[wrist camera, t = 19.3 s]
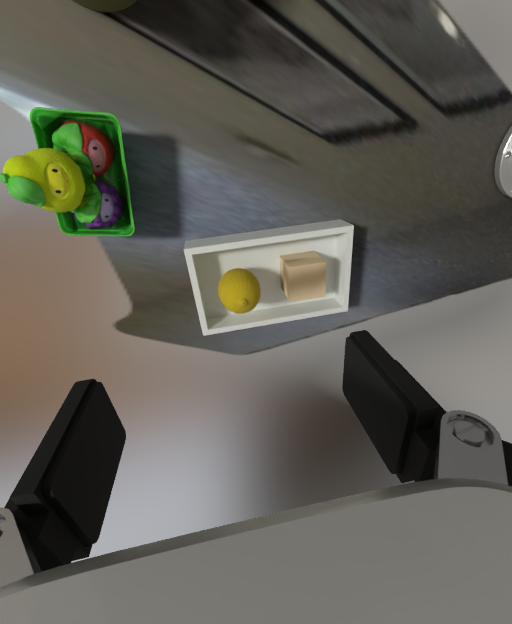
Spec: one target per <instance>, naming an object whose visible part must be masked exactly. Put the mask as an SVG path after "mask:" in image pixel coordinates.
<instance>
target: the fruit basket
mask: <svg viewBox="0 0 512 624" xmlns="http://www.w3.org/2000/svg"><path fill="white" fill-rule="evenodd" d="M30 120H31V124H32V128H33V131H34V134H35V138H36V142H37V146H38V149H36V150H32V151H29V152H28V153H26V154H24V155H23V156H15V157H12V158H10V159H9V160H8V161H7V162H6V163H5V165H4V168H3V173H1V174H0V180H1V181H2V182H3V183H6V185H7V190H8V192H9V193H10V195H11V196H13V198H15V199H17V200H19V201H21V202H24V203H30V204H33V205H36V206H38V207H41V208H43V209H46V210H49V211H53V212H55V213H56V217H57V221H58V225H59V228H60V230H61V231H62V232H63V233H65V234H67V235H73V236H75V235H76V236H77V235H82V236H131V235H132V234H133V233H134V231H135V226H134V219H133V213H132V206H131V199H130V188H129V181H128V173H127V166H126V162H125V155H124V147H123V140H122V132H121V126H120V122H119V120H118V119H117V118H116V117H115V116H114V115H113V114H110V113H101V112H86V111H73V110H62V109H52V108H42V107H36V108H34V109H32V110H31V112H30Z"/></svg>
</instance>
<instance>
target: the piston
mask: <svg viewBox="0 0 512 624" xmlns="http://www.w3.org/2000/svg"><path fill="white" fill-rule="evenodd" d="M73 1H74V2H76V3H78V4H79V5H81V6H83V7H86V8H88V9H91V10H94V11H99V12H117V11H121V10H124V9H126V8H128V7H130V6H132V5H133V4H134V3H136V2H137V1H138V0H73Z"/></svg>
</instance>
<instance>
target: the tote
mask: <svg viewBox="0 0 512 624" xmlns="http://www.w3.org/2000/svg"><path fill="white" fill-rule="evenodd" d="M353 231H354V225H352V224H350V223H348V222H346V221H343V220H341V219H340V220H332V221H325V222H318V223H311V224H303V225H296V226H289V227H282V228H275V229H267V230H260V231H253V232H246V233H239V234H231V235H224V236H217V237H210V238H202V239H195V240H188V241H185V246H184V253H185V257H186V261H187V266H188V270H189V275H190V279H191V284H192V288H193V292H194V297H195V301H196V306H197V310H198V314H199V319H200V323H201V328H202V332H203V336H204V335H210V334H216V333H222V332H228V331H233V330H239V329H245V328H251V327H257V326H263V325H269V324H274V323H280V322H286V321H292V320H298V319H304V318H309V317H315V316H321V315H327V314H333V313H339V312H345V311H348V302H349V288H350V273H351V259H352V245H353ZM308 251H314V252H315V253H317V254H318V255H319V256H320V257H321V258H323V259H324V260H325V261H326V262H327V264H326V292H325V297H321V298H315V299H308V300H302V301H296V302H289V300H288V299H287V297H286V295H285V294H284V292H283V290H282V289H281V279H280V259H279V255H286V254H294V253H301V252H308ZM236 268H242V269H245V270H248V271H249V272H251V273H252V274H253V275H254V276H255V277H256V278H257V280H258V282H259V284H260V290H261V293H260V299H259V302H258V304H257V305H256V307H255V308H254V309H253V310H251V311H249V312H247V313H243V314H238V313H234V312H231V311H229V310H228V309H227V308H226V307H225V306H224V305H223V304H222V302H221V300H220V298H219V295H218V285H219V282H220V279H221V277H222V276H223V275H224V274H225V273H226V272H227V271H229V270H232V269H236Z"/></svg>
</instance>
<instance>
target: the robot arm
mask: <svg viewBox="0 0 512 624" xmlns="http://www.w3.org/2000/svg"><path fill="white" fill-rule="evenodd" d="M495 181H496V185H497V187H498V189H499V190H500V192H501V193H502V194H503V195H505V196H506V197H508V198H512V126H511V127H510V129H509V131H508V132H507V134H506V135H505V137H504V139H503V141H502V143H501V146H500V148H499V151H498V154H497V157H496V162H495ZM343 392H344V395H345V397H346V399H347V400H348V402H349V404H350V405H351V407H352V409H353V411H354V412H355V414H356V416H357V417H358V419H359V421H360V422H361V424H362V426H363V427H364V429H365V431H366V432H367V434H368V436H369V437H370V439H371V441H372V443H373V444H374V446H375V448H376V449H377V451H378V453H379V454H380V456H381V458H382V459H383V461H384V463H385V464H386V466H387V468H388V469H389V471H390V472H391V473H392V474H396V475H397V476H398V478H399V480H400V481H401V483H404V482H408V481H413V480H414V481H415V482H413V483H409V484H403V485H399V486H394V487H389V488H384V489H380V490H375V491H370V492H366V493H361V494H357V495H352V496H348V497H344V498H340V499H335V500H331V501H326V502H322V503H318V504H313V505H309V506H305V507H300V508H296V509H292V510H287V511H283V512H279V513H275V514H270V515H266V516H262V517H258V518H253V519H249V520H245V521H241V522H237V523H232V524H228V525H224V526H220V527H216V528H211V529H207V530H203V531H199V532H194V533H190V534H186V535H182V536H178V537H174V538H170V539H165V540H161V541H157V542H153V543H149V544H145V545H141V546H137V547H133V548H128V549H125V550H120V551H116V552H112V553H108V554H105V555H101V556H97V557H93V558H89V559H85V560H81V561H77V562H74V563H71V561H74V560H78V559H82V558H86V557H89V554H90V551H91V548H92V544H94V543H96V542H97V540H98V538H99V535H100V532H101V528H102V524H103V521H104V517H105V513H106V509H107V506H108V502H109V499H110V495H111V491H112V488H113V484H114V480H115V477H116V473H117V469H118V465H119V462H120V458H121V455H122V451H123V447H124V444H125V440H126V433H125V429H124V427H123V425H122V423H121V421H120V419H119V417H118V415H117V413H116V411H115V409H114V407H113V405H112V403H111V401H110V398H109V396H108V394H107V392H106V390H105V388H104V386H103V384H102V383H101V382H97V381H96V380H95V379H90V380H84V381H79V382H76V383H75V384H74V385H73V387H72V389H71V391H70V392H69V394H68V396H67V398H66V399H65V401H64V403H63V405H62V406H61V408H60V410H59V412H58V413H57V415H56V417H55V419H54V421H53V422H52V424H51V426H50V427H49V429H48V431H47V433H46V435H45V436H44V438H43V440H42V442H41V443H40V445H39V447H38V449H37V450H36V452H35V454H34V456H33V457H32V459H31V461H30V463H29V465H28V466H27V468H26V470H25V472H24V473H23V475H22V477H21V479H20V480H19V482H18V484H17V486H16V488H15V489H14V491H13V493H12V494H11V496H10V499H9V501H8V502H7V504H6V506H5V507H4V508H0V624H512V444H511V443H508V442H506V441H503V440H501V437H500V434H499V433H498V431H497V430H496V428H495V427H494V426H493V425H491V424H490V423H489V422H488V421H487V420H485V419H483V418H482V417H480V416H478V415H475V414H473V413H470V412H466V411H461V410H453V411H449V412H446V411H445V410H444V409H443V408H442V407H441V406H440V405H439V404H438V403H437V402H436V401H435V400H434V399H433V398H432V397H431V396H430V394H429V393H428V392H427V391H426V390H425V389H424V388H423V387H422V386H421V385H420V384H419V383H418V382H417V381H416V380H415V379H414V378H413V377H412V376H411V375H410V374H409V373H408V371H407V370H406V369H405V368H404V367H403V366H402V365H401V364H400V363H399V362H398V361H396V360H394V359H393V358H392V357H391V356H390V355H389V353H387V351H386V350H385V349H384V348H383V347H382V346H381V345H380V344H379V343H378V342H377V341H376V340H375V339H374V338H373V337H372V336H371V335H370V333H369V332H368V331H366V330H363V331H357V332H352V333H351V334H350V337H347V338H346V345H345V359H344V373H343Z"/></svg>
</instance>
